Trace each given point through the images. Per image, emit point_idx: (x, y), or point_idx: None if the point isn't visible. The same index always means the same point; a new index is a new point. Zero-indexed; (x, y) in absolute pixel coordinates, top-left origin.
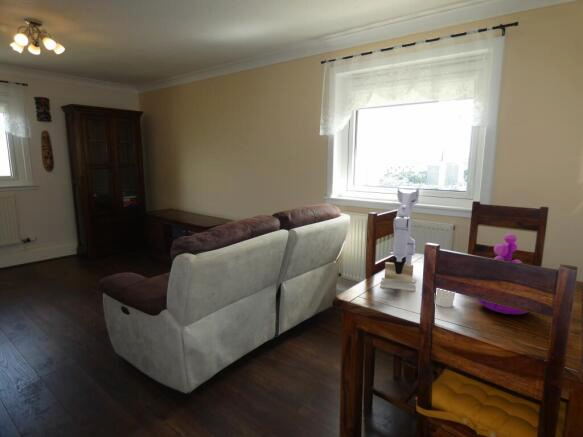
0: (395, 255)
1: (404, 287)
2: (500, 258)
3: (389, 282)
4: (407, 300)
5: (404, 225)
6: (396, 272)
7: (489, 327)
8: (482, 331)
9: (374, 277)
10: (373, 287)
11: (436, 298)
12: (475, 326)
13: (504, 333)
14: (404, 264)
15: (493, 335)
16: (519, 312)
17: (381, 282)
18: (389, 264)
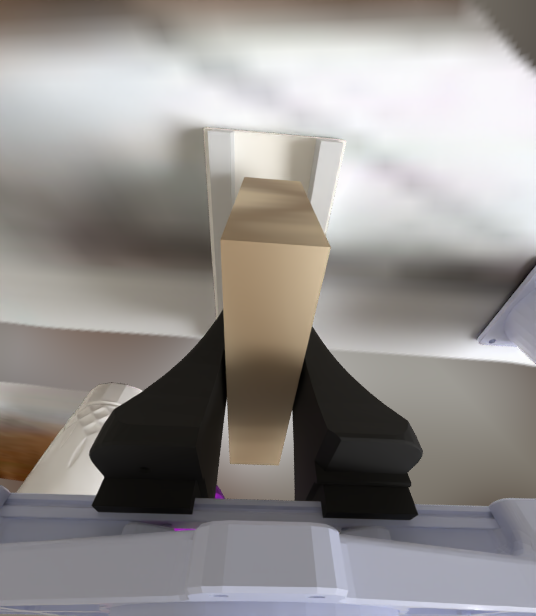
0: (6, 592)
1: (217, 301)
2: None
3: (213, 218)
4: (62, 298)
5: None
6: (221, 315)
7: (33, 448)
8: None
9: (481, 46)
10: (162, 43)
11: (83, 407)
12: (9, 432)
13: (24, 459)
14: (265, 428)
15: None
16: None
17: (211, 139)
18: (225, 300)
